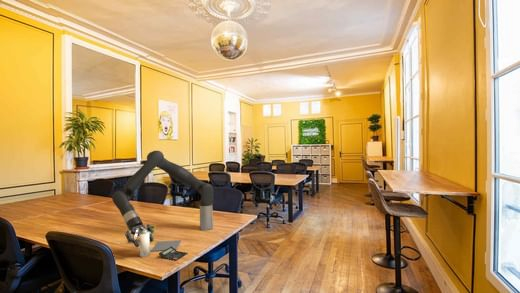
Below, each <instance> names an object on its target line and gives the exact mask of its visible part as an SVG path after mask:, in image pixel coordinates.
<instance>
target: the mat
mask: <svg viewBox="0 0 520 293" xmlns="http://www.w3.org/2000/svg"><path fill="white" fill-rule="evenodd" d="M181 242H182V240H181V239H180V240H179V239H178V240H162V241H161V240H160V241H157V242H156V243H155V245H154V247H152V249H150V253H154V252H155V253H156V252H162V251H164V250H166V249H168V248H170V247H171V246H172V247H173V248H174V249H175V250H176V251H177V249H178V247H179V246H180V244H181Z"/></svg>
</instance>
